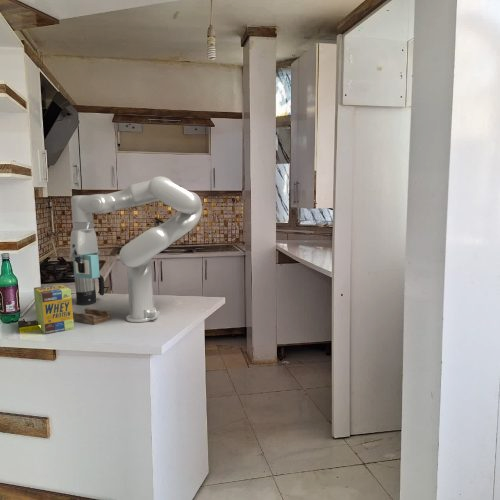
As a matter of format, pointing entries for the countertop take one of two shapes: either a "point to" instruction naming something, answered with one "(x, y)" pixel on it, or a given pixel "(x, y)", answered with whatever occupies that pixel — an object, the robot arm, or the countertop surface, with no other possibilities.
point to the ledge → (91, 316)
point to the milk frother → (87, 290)
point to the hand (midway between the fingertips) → (86, 271)
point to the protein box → (54, 308)
